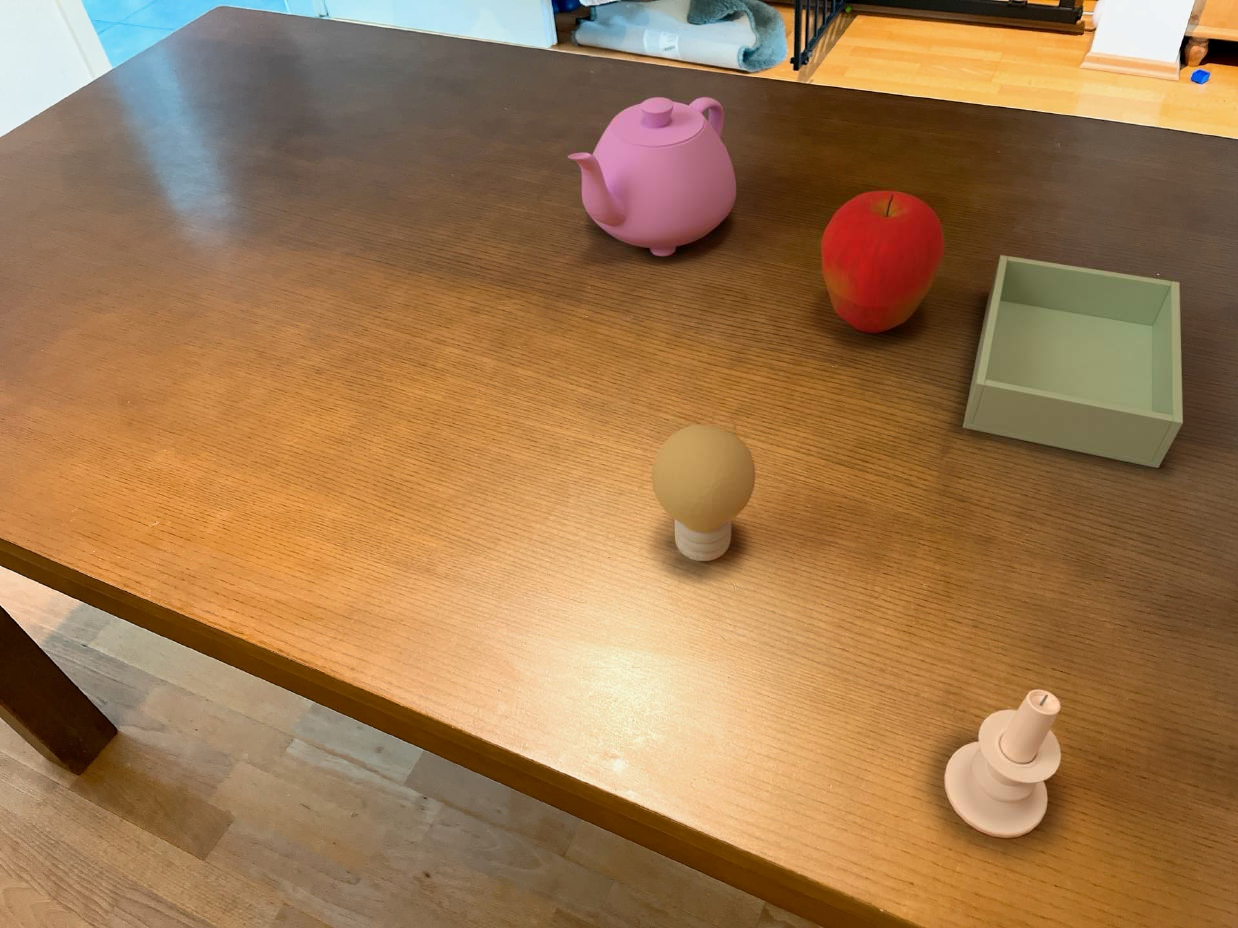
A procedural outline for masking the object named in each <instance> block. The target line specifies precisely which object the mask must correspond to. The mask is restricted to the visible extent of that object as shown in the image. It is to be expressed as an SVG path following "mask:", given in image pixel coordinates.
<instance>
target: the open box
mask: <svg viewBox="0 0 1238 928" xmlns="http://www.w3.org/2000/svg"><path fill="white" fill-rule="evenodd" d="M1180 284H1181V283H1180V281H1173V280H1172V281H1171V280H1168V279H1167V280H1166V279H1160V278H1154V277H1148V276H1147V277H1146V276H1141V275H1134V274H1127V273H1121V272H1114V271H1108V270H1101V269H1095V268H1094V269H1093V268H1088V267H1081V266H1075V265H1068V264H1062V263H1055V262H1050V261H1049V262H1048V261H1042V260H1036V259H1029V258H1023V257H1016V256H1011V255H1004V254H1000V255H999V257H998V262H997V265H996V269H995V272H994V275H993V279H992V283H991V287H990V289H989V293H988V297H987V300H986V306H985V311H984V317H983V321H982V326H981V331H980V335H979V336H980V337H979V343H978V346H977V352H976V356H975V357H976V358H975V363H974V367H973V373H972V379H971V383H970V388H969V392H968V393H969V394H968V398H967V404H966V409H965V413H964V414H965V415H964V419H963V424H962V428H963V429H967V430H972V431H976V432H981V433H986V434H990V435H996V436H1001V437H1005V438H1010V439H1016V440H1021V441H1023V442H1024V441H1025V442H1030V443H1034V444H1039V445H1044V446H1048V447H1054V448H1058V449H1063V450H1068V451H1073V452H1077V453H1083V454H1088V455H1091V456H1097V457H1102V458H1107V459H1112V460H1116V461H1121V462H1127V463H1130V464H1136V465H1141V466H1145V467H1150V468H1155V469H1159V468H1160V466H1161V465H1162V462H1163V460H1164V459H1165V457H1166V455H1167V453H1168V451H1169V450H1170V448H1171V446H1172V444H1173V442H1174V441H1175V439H1176V436H1177V435H1178V434H1179V431H1180V429H1181V427H1182V426H1183V424H1184V414H1183V413H1184V411H1183V409H1184V408H1183V407H1184V406H1183V375H1182V374H1183V373H1182V371H1183V370H1182V369H1183V368H1182V330H1181V329H1182V327H1181V326H1182V325H1181V290H1180V289H1181V288H1180V287H1181V285H1180Z"/></svg>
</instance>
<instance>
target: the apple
mask: <svg viewBox="0 0 1238 928" xmlns="http://www.w3.org/2000/svg"><path fill="white" fill-rule="evenodd" d="M945 247H946V242H945V236H944V231H943V225H942V221H941V220H940V218H939V216H938V215H937V213H936V211H935V210H934V209H932V207H930V206H929V205H928V204H927V203H926V202H925V201H924V200H922V199H921V198H918V197H917V196H914V195H913V194H910V193H906V192H902V191H897V190H896V191H895V190H872V191H867V192H864V193H863V192H862V193H860V194H858V195H856V196H854V197H853V198H851V199H850V200H848V201H846V202H845V203H844V204H843V205H842V206H840V207H839V208H838V209H837V210H836V211H835V213H834V214H833V216H832V217H831V219H830V220H829V223H828V224H827V226H826V227H825V229H824V230H823V234H822V238H821V243H820V249H821V273H822V277H823V279H824V283H825V286H826V289H827V293H828V295H829V298H830V301H831V305H832V307H833V308H832V309H833V311H834V313H835V314H836V315H838V316H839V317H840V318H841V319H843V320H844V321H845V322H846V323H847V324H848V325H850V327H852V328H853V329H855V330H857V331H859V332H862V333H867V334H879V333H882V332H885V331H888V330H891V329H893V328H895V327H898V326H899V325H902V324H904V323H905V322H906V321H908V320H909V319H910V317H912V316H913V315H914V314H915V312H916V310H917V309H918V307H919V306H920V304H921V303H922V301H923V300H924V298H925V297H926V295H927V294H928V292H929V291H930V290H931V288H932V285H933V282H934V280H935V277H936V275H937V273H938V270H939V267H940V265H941V262H942V260H943V256H944V253H945V252H944V251H945Z"/></svg>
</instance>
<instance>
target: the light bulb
mask: <svg viewBox="0 0 1238 928" xmlns="http://www.w3.org/2000/svg"><path fill="white" fill-rule="evenodd" d="M755 468H756V467H755V461H754V458H753V456H752V453H751V451H750V449H749V447H748V446H747V445H746V443H745V442H744V441H743V440H742V439H741V438H740V437H739V436H738V435H735V434H734V433H732V432H730V431H729V430H727V429H725V428H723V427H719V426H715V425H711V424H703V423H699V424H697V423H696V424H695V423H694V424H691V425H686V426H685V427H682V428H681V429H679V430H677V431H675V432H674V433H673V434H672V435H670V436H669V437H668V439H666V440H665V441H664V443H663V444H662V445H661V447H660V448H659V450H658V451H657V453H656V455H655V458H654V461H653V465H652V470H651V485H652V489H653V492H654V496H655V497H656V499H657V501H658V503H659V504H660V506H661V507H662V509H663V510H664V512H666V513H667V514H668V516H670V517H671V518H673V519H674V542H675V545H676V547H677V549H678V550H679V552H680V553H681V554H682V555H683V556H685V557H687V558H688V559H691V560H693V561H698V562H709V561H713V560H716V559H719V558H720V557H721V556H722V555H724V554H726V552H727V550H728V549H729V547H730V545H731V540H732V521H733V519H734V518H736V517H737V516H739V514H740V513H741V512H743V510H744V509H745V508H746V507H747V505H748V503H749V501H750V500H751V497H752V495H753V491H754V488H755V484H756V469H755Z"/></svg>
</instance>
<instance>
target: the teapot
mask: <svg viewBox="0 0 1238 928" xmlns="http://www.w3.org/2000/svg"><path fill="white" fill-rule="evenodd" d="M707 110H708V119H707V118H706V117H705V115H704V114H703V113H704V112H706V111H707ZM724 123H725V111H724V108H723V106H722V104H721V103H720V102H719V101H718V100H716V99H714V98H712V97H709V96H702V97H697V98H696V99H694V100H693V101H692V102H690V104H689V105H688V104H685V103H682V102H678V101H672V99H670V98H667V97H662V96H661V97H660V96H656V97H650V98H647V99H644V100H643V101H642V102H641V103H638V104H634V105H631V106H629V107H627V108H625V109H623V110H621V111H620V112H619V113H618V114H616V115H615V116H614V117H613V118H612V119H611V121H610V123H609V124H608V125H607V127H606V129H605V130H604V131H603V133H602V135H601V137H600V138H599V141H598V143H597V144H596V146H595V148H594V150H593V153H592V154H591V153H589V152H573V153H570V154H569V155H567V158H568V159H569V160H571V161H573V162H574V163H577V165H578V167H579V168H580V171H581V200H582V205H583V207H584V209H585V211H586V213H588V215H589V216H590V218H591V220H593V221H594V223H595V224H596V225H598V227H600V228H601V229H602V230H604V231H605V232H606V233H607V234H609V235H611V236H612V237H613V238H615V239H616V240H618V241H621V242H622V243H625V244H628V245H631V246H635V247H640V248H647V249H649V250H650V252H651V253H652V255H654V256H658V257H667V256H671V255H672V254H674V253H675V251H676V249H677V247H681V246H684V245H687V244H691V243H694V242H696V241H699V240H700V239H702V238H704V237H705V236H707V235H708V234H709V233H711V232H712V231H713V230H714V229H716V228H717V227H718V226H719V225H721V223H722V222H723V221H724V220H725V219H726V218H727V216H729V214H730V213H731V211H732V209H733V207H734V206H735V202H736V199H737V181H736V175H735V170H734V166H733V162H732V160H731V157H730V154H729V151H728V148H727V147H726V145H725V144H724V143H723V141H722V140H721V139H722V135H723V128H724Z"/></svg>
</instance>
